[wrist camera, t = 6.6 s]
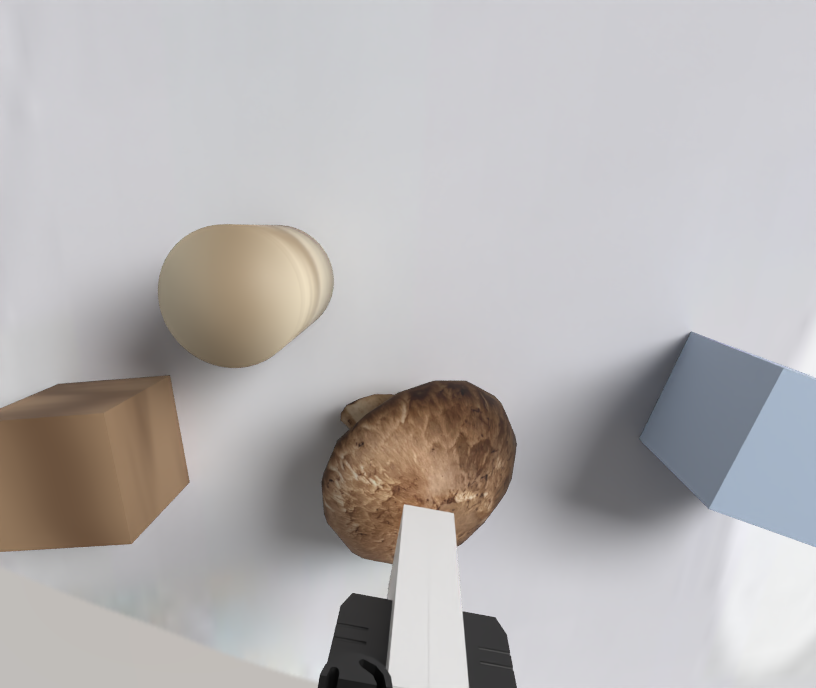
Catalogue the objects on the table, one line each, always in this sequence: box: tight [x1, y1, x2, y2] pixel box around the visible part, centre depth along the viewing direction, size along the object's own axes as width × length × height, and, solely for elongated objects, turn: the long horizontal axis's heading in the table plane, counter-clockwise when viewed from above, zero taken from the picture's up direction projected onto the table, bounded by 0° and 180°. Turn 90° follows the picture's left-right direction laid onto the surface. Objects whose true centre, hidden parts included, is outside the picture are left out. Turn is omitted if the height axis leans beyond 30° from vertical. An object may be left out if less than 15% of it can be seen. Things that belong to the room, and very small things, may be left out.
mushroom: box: [322, 381, 517, 564], centre depth 22 cm, size 8×8×6 cm
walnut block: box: [0, 375, 189, 552], centre depth 22 cm, size 5×5×5 cm
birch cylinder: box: [158, 224, 334, 368], centre depth 20 cm, size 4×4×6 cm
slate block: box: [639, 332, 816, 547], centre depth 20 cm, size 5×5×6 cm
